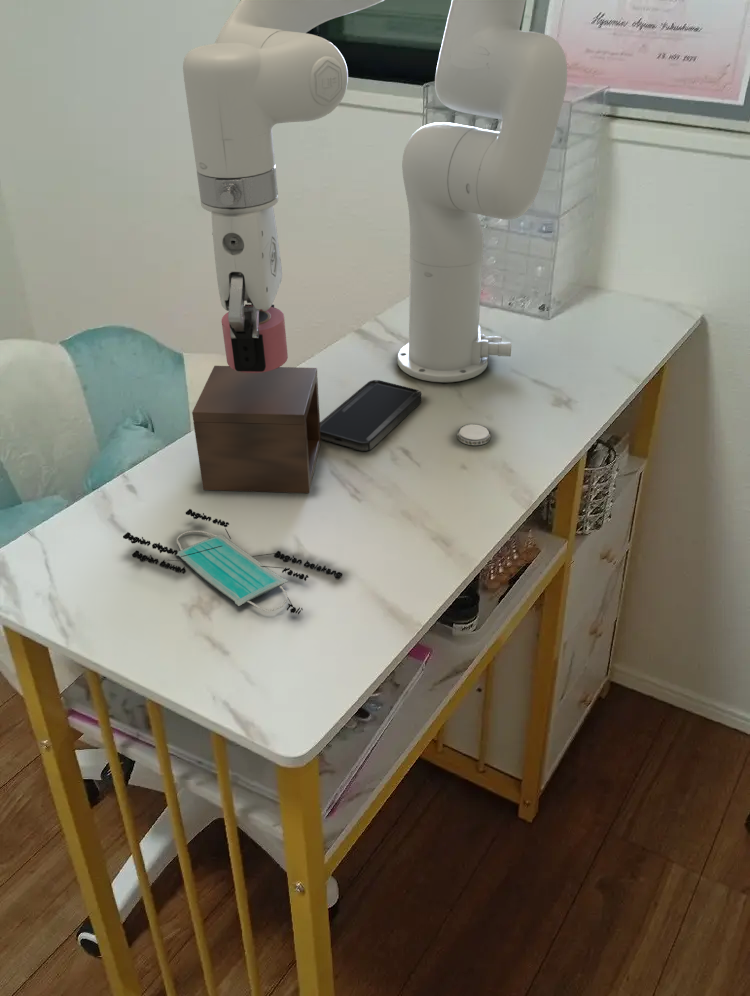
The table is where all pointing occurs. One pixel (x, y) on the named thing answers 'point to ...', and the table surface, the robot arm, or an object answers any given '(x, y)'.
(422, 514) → the table surface
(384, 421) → the phone
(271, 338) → the tape roll
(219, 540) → the surgical mask
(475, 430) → the white bottle cap
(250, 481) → the desk shelf
